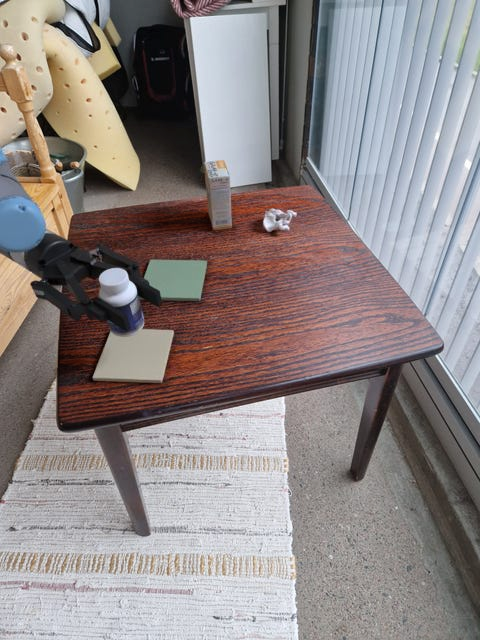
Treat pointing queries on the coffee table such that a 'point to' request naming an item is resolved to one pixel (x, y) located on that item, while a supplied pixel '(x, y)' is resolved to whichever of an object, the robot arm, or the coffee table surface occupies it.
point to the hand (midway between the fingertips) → (143, 311)
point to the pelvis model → (270, 221)
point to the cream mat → (135, 357)
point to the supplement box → (218, 194)
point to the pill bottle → (121, 299)
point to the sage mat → (177, 278)
